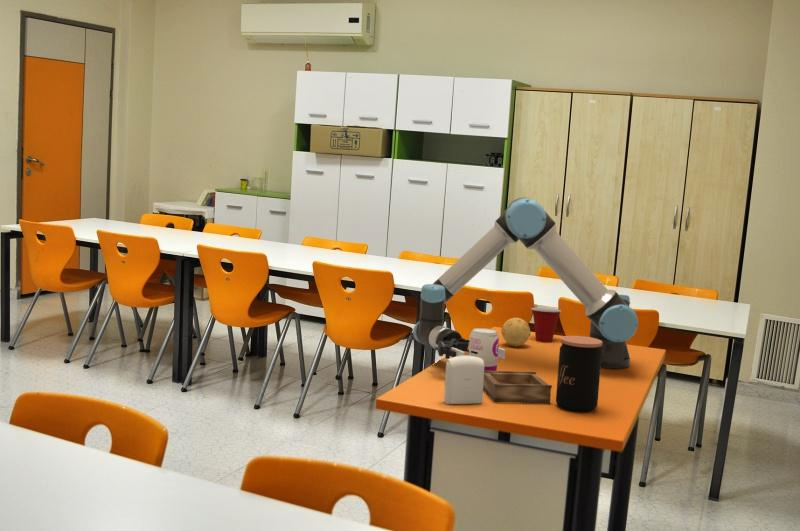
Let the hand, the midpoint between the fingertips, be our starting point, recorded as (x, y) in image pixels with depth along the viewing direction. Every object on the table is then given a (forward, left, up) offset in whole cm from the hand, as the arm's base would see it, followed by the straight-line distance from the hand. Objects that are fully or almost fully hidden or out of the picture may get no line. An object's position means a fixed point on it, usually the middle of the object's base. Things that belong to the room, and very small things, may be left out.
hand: (484, 355), depth 245 cm
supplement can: (0, -1, -8) cm, 8 cm away
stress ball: (-24, -53, -8) cm, 59 cm away
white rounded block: (+10, +21, -8) cm, 25 cm away
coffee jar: (-19, +24, -8) cm, 32 cm away
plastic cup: (-38, -64, -8) cm, 75 cm away
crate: (-6, +13, -8) cm, 16 cm away
